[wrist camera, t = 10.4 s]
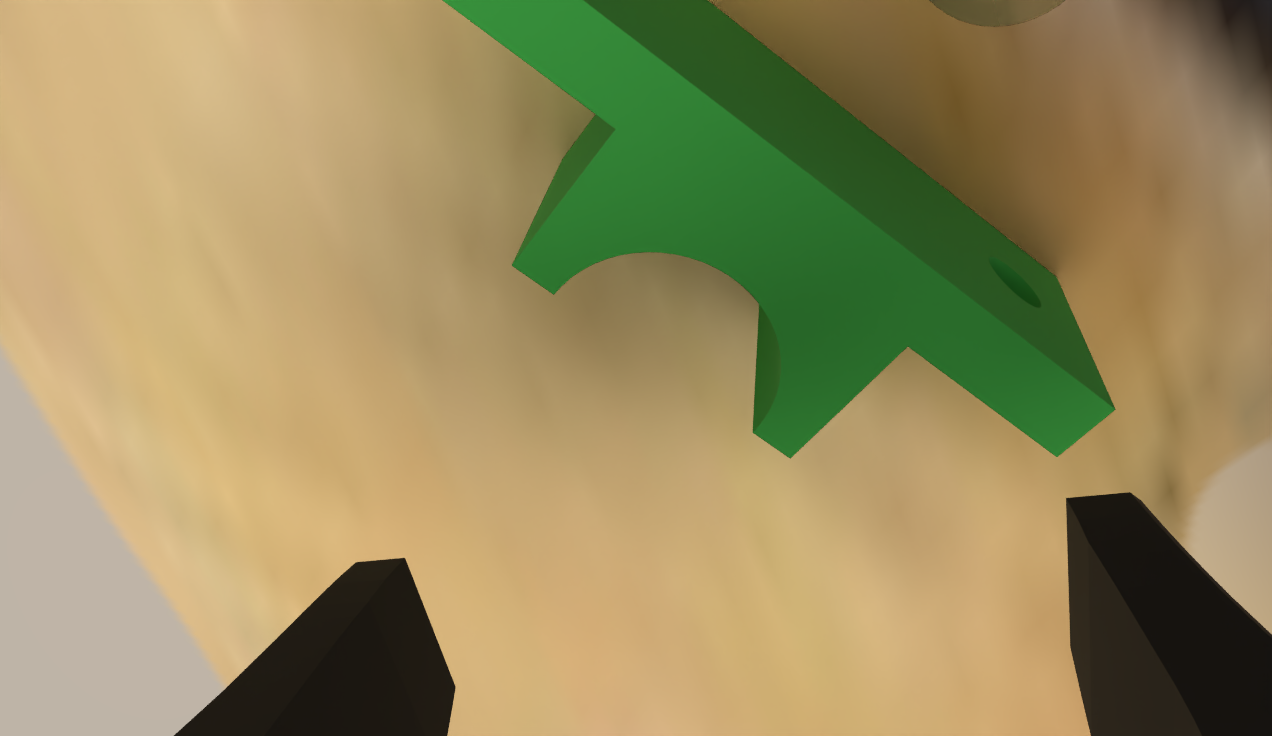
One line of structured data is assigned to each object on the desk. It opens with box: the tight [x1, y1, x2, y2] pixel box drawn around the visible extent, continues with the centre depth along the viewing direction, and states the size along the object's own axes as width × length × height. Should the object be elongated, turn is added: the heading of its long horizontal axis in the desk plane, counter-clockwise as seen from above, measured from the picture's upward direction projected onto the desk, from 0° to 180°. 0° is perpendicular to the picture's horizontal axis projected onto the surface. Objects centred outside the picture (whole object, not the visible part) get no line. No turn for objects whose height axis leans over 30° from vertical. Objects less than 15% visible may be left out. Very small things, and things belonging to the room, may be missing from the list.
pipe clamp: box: [443, 0, 1115, 458], centre depth 18 cm, size 11×4×5 cm, turn 54°
